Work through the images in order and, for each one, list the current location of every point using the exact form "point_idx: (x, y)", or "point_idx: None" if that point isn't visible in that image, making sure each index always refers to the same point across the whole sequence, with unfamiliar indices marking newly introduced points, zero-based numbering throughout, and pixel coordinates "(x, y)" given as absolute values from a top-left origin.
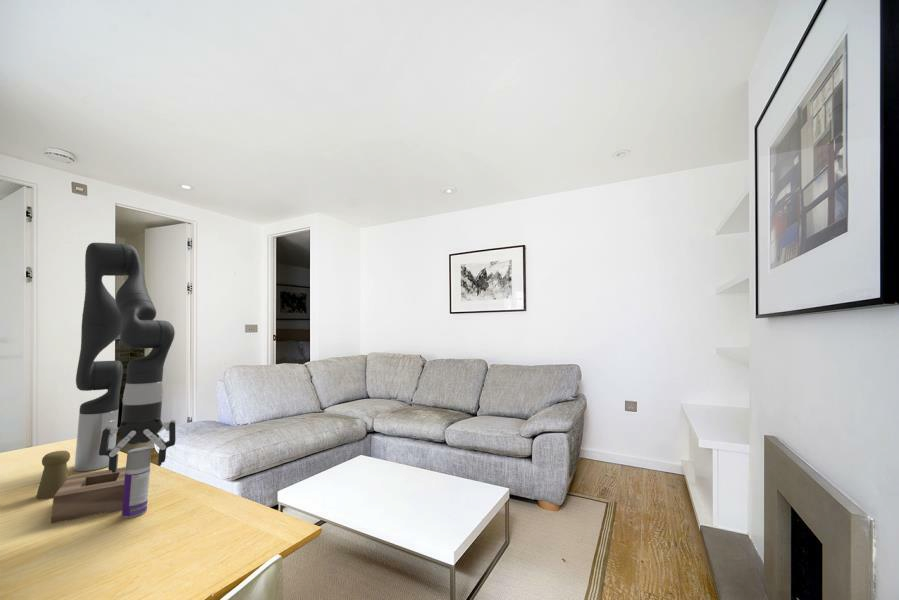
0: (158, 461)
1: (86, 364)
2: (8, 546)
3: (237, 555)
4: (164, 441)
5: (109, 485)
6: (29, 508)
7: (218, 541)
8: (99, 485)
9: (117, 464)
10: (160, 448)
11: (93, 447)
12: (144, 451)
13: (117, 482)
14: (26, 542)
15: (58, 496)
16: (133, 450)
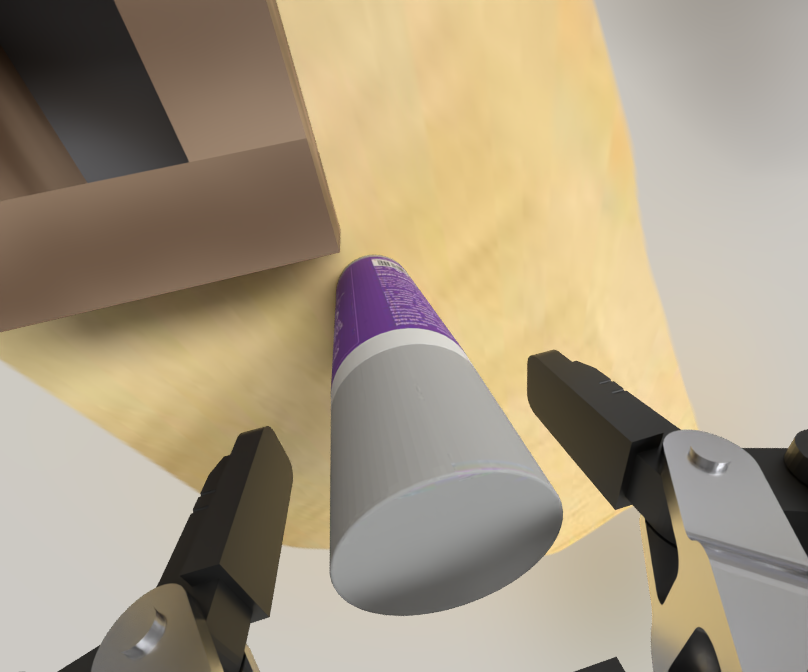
0: (548, 428)
1: None
2: (87, 416)
3: (595, 504)
4: (774, 505)
5: (204, 253)
6: None
7: (578, 469)
8: (122, 229)
9: (255, 454)
10: (646, 532)
11: None
12: (510, 581)
13: (224, 207)
14: (127, 404)
15: None
16: (386, 563)
